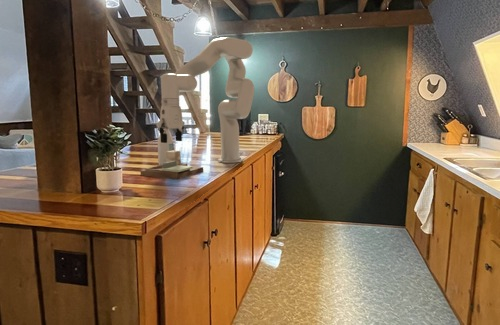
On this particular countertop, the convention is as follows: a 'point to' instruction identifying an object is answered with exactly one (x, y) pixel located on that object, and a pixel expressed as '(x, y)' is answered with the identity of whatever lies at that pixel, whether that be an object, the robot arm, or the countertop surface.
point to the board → (170, 172)
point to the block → (173, 156)
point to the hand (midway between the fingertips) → (171, 141)
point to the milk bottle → (164, 148)
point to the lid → (174, 167)
